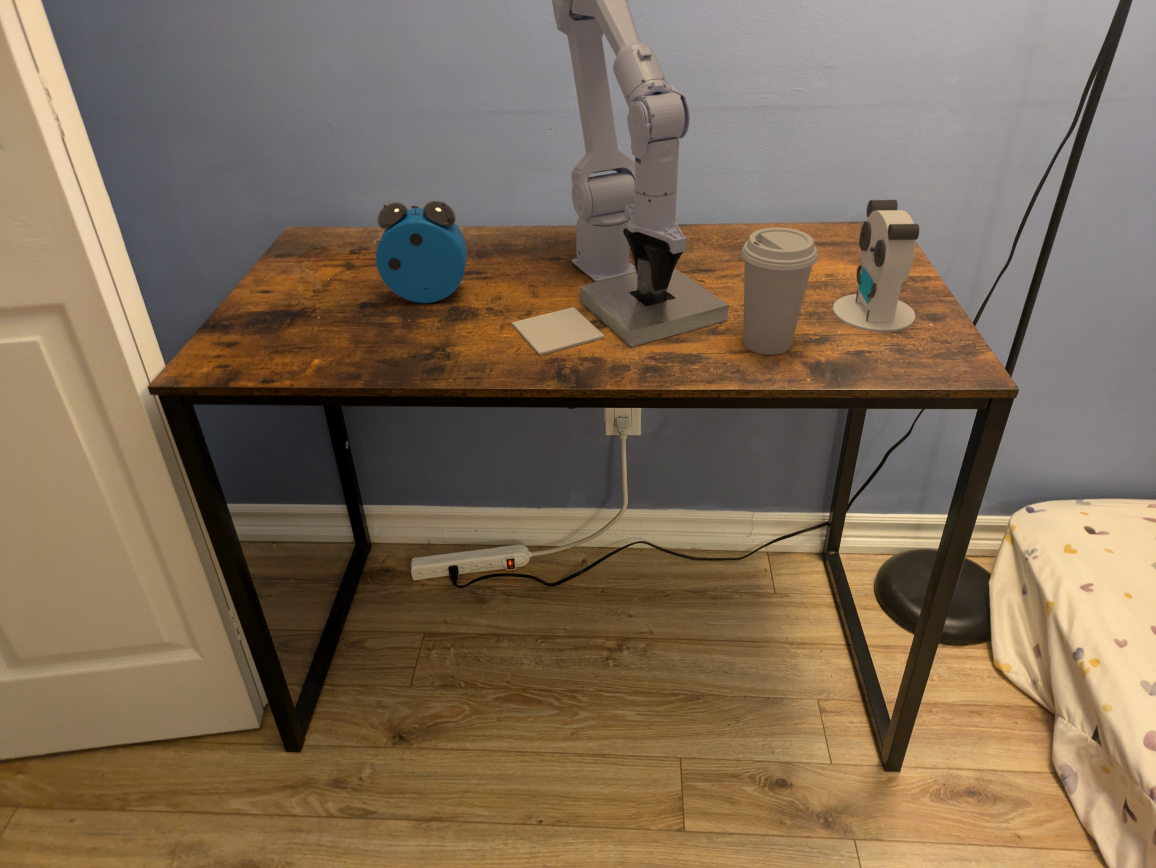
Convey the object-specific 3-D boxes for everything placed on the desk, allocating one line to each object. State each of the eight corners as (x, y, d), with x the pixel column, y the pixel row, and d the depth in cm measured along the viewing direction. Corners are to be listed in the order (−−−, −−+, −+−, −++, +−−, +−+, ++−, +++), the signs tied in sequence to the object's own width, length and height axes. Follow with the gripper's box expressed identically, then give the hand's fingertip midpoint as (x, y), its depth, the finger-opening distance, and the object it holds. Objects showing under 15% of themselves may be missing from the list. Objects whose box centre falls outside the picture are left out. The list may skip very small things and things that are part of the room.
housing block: (579, 301, 117) (579, 286, 115) (669, 279, 122) (669, 264, 121) (630, 347, 105) (631, 331, 104) (727, 320, 111) (728, 304, 109)
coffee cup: (727, 326, 109) (738, 225, 100) (795, 326, 109) (811, 224, 100) (736, 361, 101) (748, 255, 93) (809, 360, 101) (828, 254, 92)
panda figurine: (824, 294, 117) (841, 197, 108) (899, 293, 116) (923, 196, 107) (843, 332, 107) (864, 229, 98) (925, 331, 107) (954, 228, 98)
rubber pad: (512, 324, 111) (511, 322, 111) (573, 309, 115) (573, 306, 114) (539, 355, 104) (539, 353, 104) (604, 338, 107) (604, 335, 107)
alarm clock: (472, 286, 122) (461, 193, 113) (469, 303, 117) (457, 208, 108) (390, 289, 122) (372, 197, 113) (383, 307, 117) (364, 211, 108)
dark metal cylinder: (631, 296, 114) (632, 255, 110) (658, 291, 115) (659, 250, 111) (645, 309, 110) (646, 267, 107) (672, 303, 112) (674, 261, 108)
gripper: (605, 178, 107) (606, 268, 115) (654, 211, 96) (651, 308, 104) (650, 170, 109) (647, 259, 117) (703, 202, 98) (696, 297, 107)
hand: (652, 282), depth 111 cm, fingers closed on dark metal cylinder, 4 cm apart
